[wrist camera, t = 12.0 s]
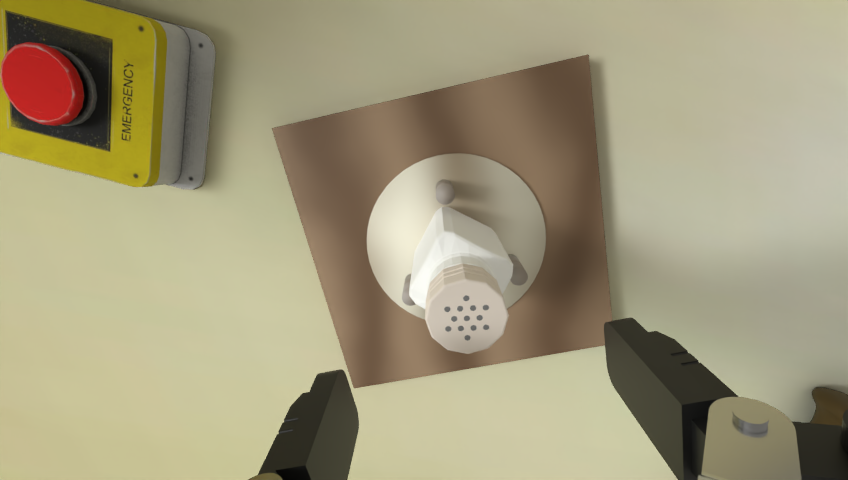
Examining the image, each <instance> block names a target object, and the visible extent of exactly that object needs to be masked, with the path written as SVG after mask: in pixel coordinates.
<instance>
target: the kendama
mask: <svg viewBox="0 0 848 480" xmlns="http://www.w3.org/2000/svg"><path fill="white" fill-rule="evenodd" d="M812 396H813V399H814V401H815V403H816V411H815V415H814V417H813V419H812V421H811V422H810V423H813V424H826V425H840V426H842V419H843V414H844V412H845V411H846V410H847V409H848V395H847V394H845V393H842V392H839V391H835V390H831V389H827V388H816V389H814V390H813V391H812Z"/></svg>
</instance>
